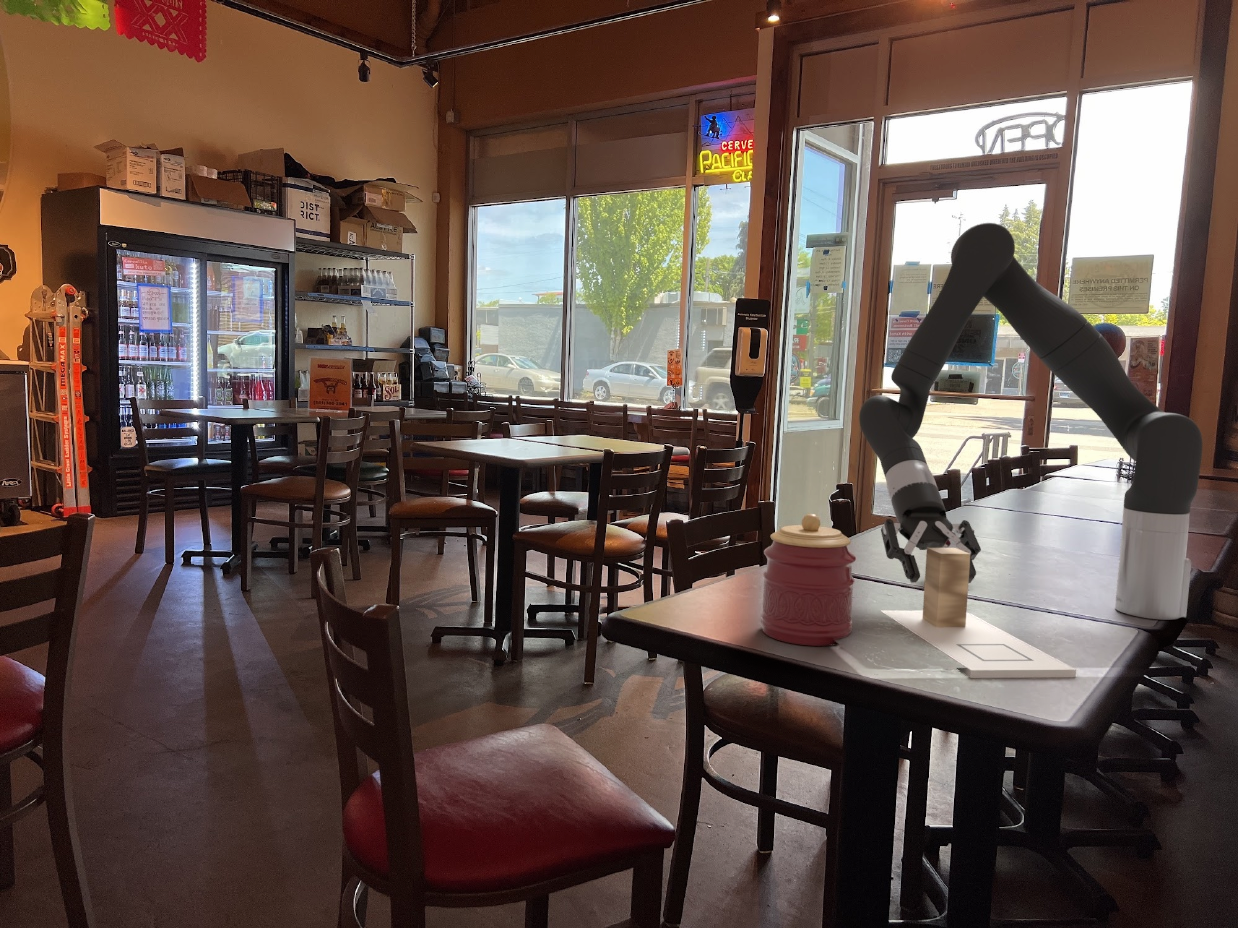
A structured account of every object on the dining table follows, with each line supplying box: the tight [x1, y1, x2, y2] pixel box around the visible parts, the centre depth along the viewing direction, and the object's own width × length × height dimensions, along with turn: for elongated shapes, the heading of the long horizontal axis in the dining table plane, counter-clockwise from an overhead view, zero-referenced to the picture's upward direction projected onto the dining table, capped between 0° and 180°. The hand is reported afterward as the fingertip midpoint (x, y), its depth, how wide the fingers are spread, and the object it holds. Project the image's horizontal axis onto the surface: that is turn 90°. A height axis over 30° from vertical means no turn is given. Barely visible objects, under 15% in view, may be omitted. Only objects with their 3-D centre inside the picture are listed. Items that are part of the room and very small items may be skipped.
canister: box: [760, 513, 857, 647], centre depth 122 cm, size 13×13×18 cm
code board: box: [879, 609, 1077, 679], centre depth 120 cm, size 14×28×1 cm, turn 6°
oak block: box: [922, 548, 970, 627], centre depth 127 cm, size 4×4×11 cm
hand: (943, 580), depth 127 cm, fingers open, 8 cm apart
